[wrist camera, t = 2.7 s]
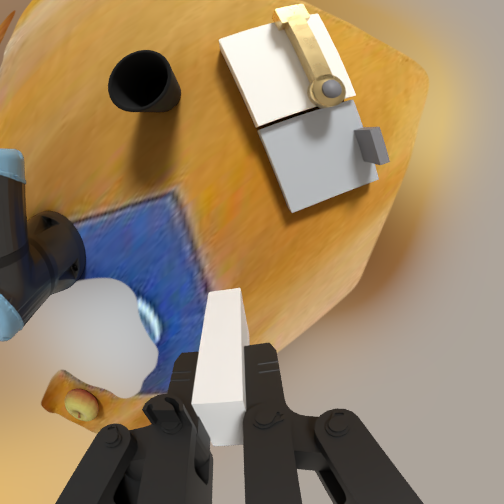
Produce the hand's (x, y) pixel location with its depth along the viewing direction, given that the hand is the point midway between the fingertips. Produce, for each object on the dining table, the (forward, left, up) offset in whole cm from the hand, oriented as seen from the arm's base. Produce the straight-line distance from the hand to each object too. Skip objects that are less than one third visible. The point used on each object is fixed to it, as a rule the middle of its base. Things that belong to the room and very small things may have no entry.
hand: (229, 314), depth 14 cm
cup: (-3, +19, -32) cm, 37 cm away
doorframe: (+15, +8, -31) cm, 36 cm away
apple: (-58, -31, -32) cm, 73 cm away
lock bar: (+17, +15, -26) cm, 35 cm away
